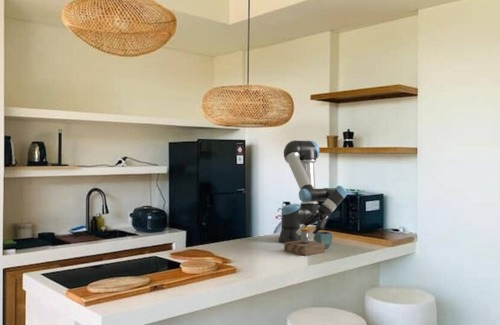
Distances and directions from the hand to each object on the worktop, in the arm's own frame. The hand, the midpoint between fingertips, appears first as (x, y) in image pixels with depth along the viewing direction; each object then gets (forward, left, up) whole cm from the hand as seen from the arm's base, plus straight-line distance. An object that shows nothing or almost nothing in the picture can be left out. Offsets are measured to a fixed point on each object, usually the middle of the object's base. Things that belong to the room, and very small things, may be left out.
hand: (303, 236), depth 268 cm
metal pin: (0, +1, -9) cm, 9 cm away
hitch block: (0, +1, -9) cm, 9 cm away
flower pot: (-2, +19, -9) cm, 21 cm away
